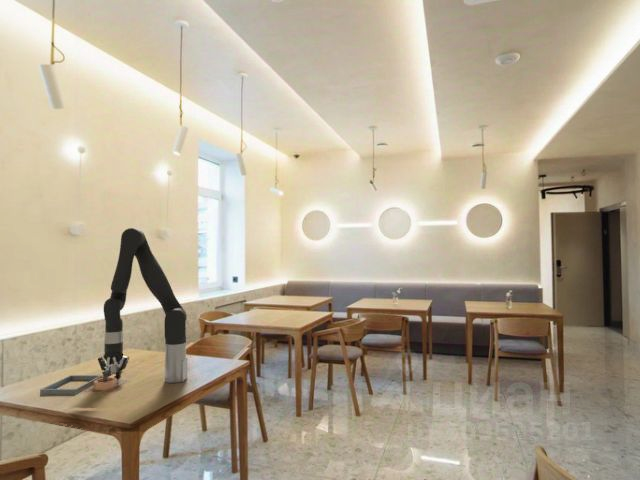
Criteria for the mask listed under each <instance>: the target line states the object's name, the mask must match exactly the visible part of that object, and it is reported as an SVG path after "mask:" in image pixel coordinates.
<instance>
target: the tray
mask: <svg viewBox="0 0 640 480" xmlns="http://www.w3.org/2000/svg"><path fill="white" fill-rule="evenodd" d="M100 378H103V374H98V375H96V374H93V375H92V374H89V375H88V374H85V375H83V374H82V375H78V374H74V375H73V374H70V375H68V376H65V377H64V378H62V379H60V380H57V381H55V382H53V383H51V384H49V385H47V386H45V387H43V388H40V390H39V397H40V398H41V397H42V396H44V395H45V396H47V395H49V396H51V395H59V396H60V395H67V396H68V395H71V396H72V395H73V396H74V395H78V394H79V393H81V392H84V391H85V390H87V389H89V388H91V387H92V386H93V381H95V380H97V379H100ZM73 381H88V382H86V383H84V384H82V385H80V386H78V387H76V388H61V387H63V386H65V385H67V384H70V383H71V382H73Z"/></svg>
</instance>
